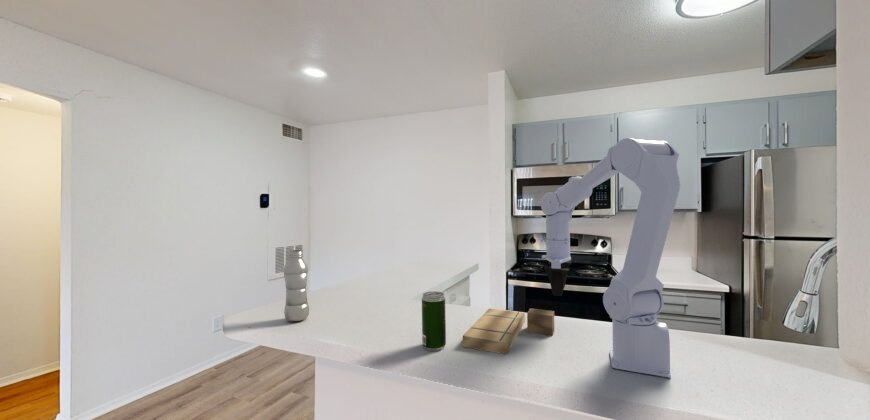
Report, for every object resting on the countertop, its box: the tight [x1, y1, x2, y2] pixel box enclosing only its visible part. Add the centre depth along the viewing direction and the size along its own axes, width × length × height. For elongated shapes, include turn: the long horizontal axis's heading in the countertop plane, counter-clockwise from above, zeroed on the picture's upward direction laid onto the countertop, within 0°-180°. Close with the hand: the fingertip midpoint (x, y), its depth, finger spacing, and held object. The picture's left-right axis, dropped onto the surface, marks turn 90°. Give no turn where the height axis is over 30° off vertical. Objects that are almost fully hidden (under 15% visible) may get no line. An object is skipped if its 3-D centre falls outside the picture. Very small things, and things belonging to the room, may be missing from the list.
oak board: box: [462, 308, 526, 355], centre depth 83 cm, size 10×22×3 cm, turn 155°
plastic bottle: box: [282, 249, 310, 322], centre depth 95 cm, size 6×7×20 cm
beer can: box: [421, 291, 447, 352], centre depth 75 cm, size 5×5×12 cm
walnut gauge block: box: [526, 308, 555, 337], centre depth 84 cm, size 6×4×5 cm, turn 64°
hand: (558, 291), depth 85 cm, fingers open, 7 cm apart
